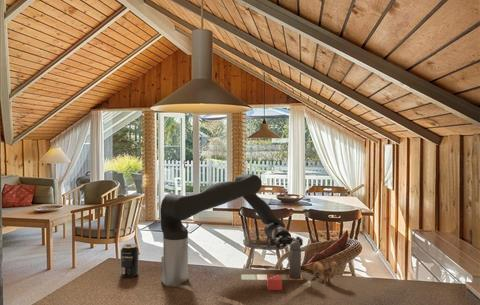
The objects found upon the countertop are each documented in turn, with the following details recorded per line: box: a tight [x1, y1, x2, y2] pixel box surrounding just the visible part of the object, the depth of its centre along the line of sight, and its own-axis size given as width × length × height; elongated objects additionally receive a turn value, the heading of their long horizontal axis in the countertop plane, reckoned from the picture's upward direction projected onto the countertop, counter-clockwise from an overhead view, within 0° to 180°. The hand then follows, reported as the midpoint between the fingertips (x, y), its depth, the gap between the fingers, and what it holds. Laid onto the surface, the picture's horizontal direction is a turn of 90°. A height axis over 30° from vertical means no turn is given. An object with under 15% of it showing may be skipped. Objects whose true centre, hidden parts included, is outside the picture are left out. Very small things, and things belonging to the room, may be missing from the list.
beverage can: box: [120, 243, 139, 278], centre depth 145 cm, size 7×7×12 cm
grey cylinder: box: [288, 241, 302, 279], centre depth 140 cm, size 4×4×14 cm
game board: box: [240, 274, 312, 288], centre depth 141 cm, size 28×12×1 cm, turn 90°
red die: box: [266, 274, 283, 291], centre depth 131 cm, size 5×5×5 cm
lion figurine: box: [310, 261, 341, 287], centre depth 140 cm, size 15×5×9 cm, turn 36°
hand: (289, 245), depth 151 cm, fingers open, 8 cm apart
